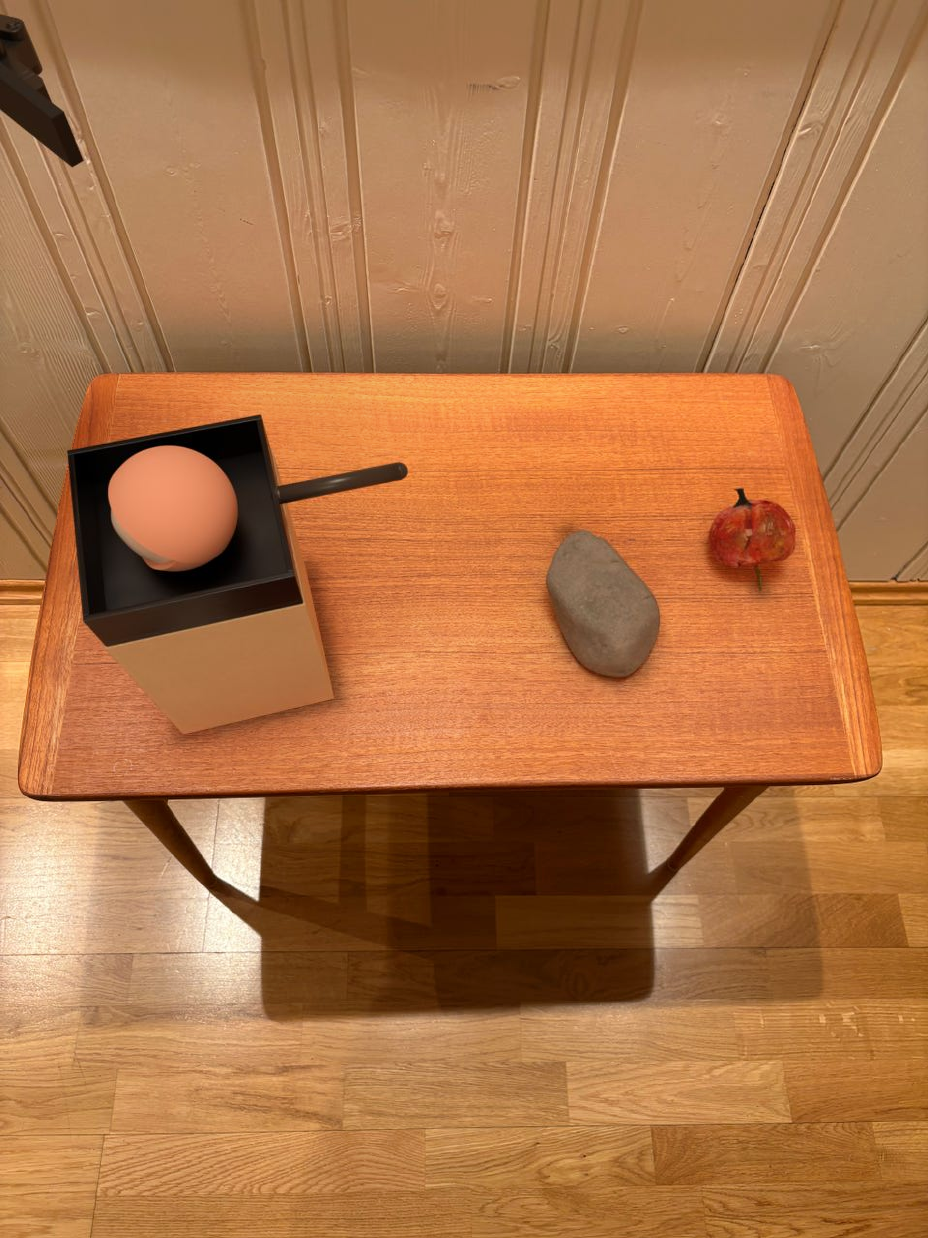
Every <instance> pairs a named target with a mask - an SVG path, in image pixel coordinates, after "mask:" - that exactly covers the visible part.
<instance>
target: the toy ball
mask: <svg viewBox="0 0 928 1238" xmlns="http://www.w3.org/2000/svg"><path fill="white" fill-rule="evenodd" d="M108 496H109V502H110V506H111V520H112V524H113V527H114V529H115V531H116V532H117V534H118V535H119V537H120V538H121V539H122V540H123V541H124V542H125V543H126V545H127V546H128V547H129V548H131V549H132V550H133V551H134V552H135V553H137V554H138V555H140V556H141V557H143V559H144V561H145V562H146V564H147V565H148V566H150V567H151V568H153V569H157V570H163V571H185V570H190V569H194V568H197V567H199V566H202V565H204V564H206V563H208V562H209V561H211V560H212V559H214V558H215V557H217V556H218V555H220V554H221V553H222V552H223V551H224V550H225V549H226V547H227V546H228V544H229V542H230V540H231V538H232V536H233V534H234V531H235V528H236V524H237V518H238V506H237V499H236V495H235V492H234V489H233V487H232V484H231V482H230V481H229V479H228V477H227V476H226V474H225V473H224V472H223V471H222V469H221V468H220V467H219V466H218V465H217V464H216V463H214V462H213V461H212V460H211V459H209V458H208V457H206V456H205V455H203V454H201V453H199V452H197V451H194V450H192V449H188V448H185V447H179V446H158V447H153V448H149V449H146V450H143V451H141V452H139V453H137V454H135V455H133V456H132V457H130V458H129V459H128V460H127V461H125V462H124V463H123V464H122V465H121V466H120V467H119V468H118V470H117V471H116V472H115V473H114V475H113V476H112V478H111V480H110V483H109V489H108Z"/></svg>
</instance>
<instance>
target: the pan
mask: <svg viewBox="0 0 928 1238" xmlns="http://www.w3.org/2000/svg"><path fill="white" fill-rule="evenodd" d="M158 446H179V447H185V448H188V449H192V450H194V451H197V452H199V453H201V454H203V455H205V456H206V457H208V458H209V459H211V460H212V461H213V462H214V463H216V464H217V465H218V466H219V467H220V468H221V469H222V471H223V472H224V473H225V474H226V476H227V477H228V479H229V481H230V482H231V484H232V487H233V489H234V492H235V495H236V499H237V506H238V518H237V524H236V528H235V531H234V534H233V536H232V538H231V540H230V542H229V544H228V546H227V547H226V549H225V550H224V551H223V552H222V553H221V554H220V555H218V556H217V557H215V558H214V559H212V560H211V561H209V562H208V563H206V564H204V565H202V566H199V567H197V568H194V569H190V570H185V571H163V570H157V569H153V568H151V567H150V566H148V565H147V564H146V562H145V561H144V559H143V557H141V556H140V555H138V554H137V553H135V552H134V551H133V550H132V549H131V548H129V547H128V546H127V545H126V543H125V542H124V541H123V540H122V539H121V538H120V537H119V535H118V534H117V532H116V531H115V529H114V527H113V524H112V520H111V506H110V502H109V496H108V489H109V483H110V480H111V478H112V476H113V475H114V473H115V472H116V471H117V470H118V468H119V467H120V466H121V465H122V464H123V463H124V462H125V461H127V460H128V459H129V458H130V457H132V456H133V455H135V454H137V453H139V452H141V451H143V450H146V449H149V448H153V447H158ZM66 453H67V454H66V455H67V465H68V474H69V484H70V495H71V505H72V507H71V508H72V516H73V527H74V537H75V547H76V548H75V549H76V559H77V569H78V579H79V580H78V581H79V591H80V600H81V601H80V602H81V611H82V622H83V623H84V624H85V626H86V627H88V629H89V630H90V631H91V632H92V633H93V634H94V636H96V638H97V639H98V640H99V641H100V642H101V643H102V644H103V645H104V647H105V646H106V647H109V646H113V645H118V644H122V643H127V642H131V641H136V640H141V639H145V638H150V637H154V636H159V635H163V634H168V633H172V632H177V631H181V630H186V629H190V628H195V627H199V626H204V625H208V624H213V623H217V622H222V621H227V620H231V619H236V618H240V617H245V616H249V615H254V614H258V613H263V612H267V611H272V610H276V609H281V608H285V607H290V606H294V605H299V604H303V603H304V602H303V598H302V593H301V588H300V584H299V579H298V574H297V570H296V565H295V560H294V555H293V551H292V546H291V541H290V537H289V532H288V527H287V523H286V518H285V513H284V509H283V504H285V503H288V504H289V503H290V504H291V503H295V502H299V501H300V502H301V501H305V500H310V499H315V498H319V497H324V496H329V495H335V494H338V493H339V494H341V493H344V492H349V491H353V490H360V489H363V488H368V487H374V486H378V485H383V484H388V483H394V482H398V481H403V480H404V479H406V477H408V475H409V473H408V472H409V468H408V466H407V465H406V464H405V463H404V462H401V461H397V462H391V463H387V464H381V465H376V466H371V467H367V468H361V469H356V470H352V471H347V472H341V473H336V474H332V475H331V474H330V475H327V476H326V475H325V476H321V477H316V478H311V479H307V480H306V479H305V480H301V481H297V482H291V483H286V484H282V485H281V486H279V485H278V480H277V476H276V471H275V466H274V462H273V457H272V452H271V445H270V441H269V438H268V433H267V431H266V427H265V424H264V420H263V417H262V414H254V415H249V416H244V417H238V418H233V419H228V420H223V421H217V422H211V423H207V424H206V423H205V424H201V425H196V426H190V427H185V428H180V429H175V430H169V431H164V432H159V433H152V434H147V435H141V436H137V437H132V438H126V439H120V440H116V441H110V442H105V443H100V444H99V443H98V444H94V445H89V446H83V447H77V448H71V449H67V450H66Z"/></svg>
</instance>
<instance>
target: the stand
mask: <svg viewBox="0 0 928 1238" xmlns="http://www.w3.org/2000/svg"><path fill="white" fill-rule="evenodd" d="M270 448H271V447H270ZM271 452H272V457H273V462H274V466H275V471H276V476H277V480H278V485H279V486H281V485H283V481H282V478H281V475H280V471H279V468H278V464H277V460H276V457H275V454H274V450H273V447H272V448H271ZM283 509H284V513H285V518H286V523H287V527H288V532H289V537H290V541H291V546H292V551H293V555H294V560H295V565H296V570H297V574H298V579H299V584H300V588H301V593H302V598H303V602H304V603H303V604H299V605H294V606H290V607H285V608H281V609H276V610H272V611H267V612H263V613H258V614H254V615H249V616H245V617H240V618H236V619H231V620H227V621H222V622H217V623H213V624H208V625H204V626H199V627H195V628H190V629H186V630H181V631H177V632H172V633H168V634H163V635H159V636H154V637H150V638H145V639H141V640H136V641H131V642H127V643H122V644H118V645H113V646H109V647H106V646H105V645H104V649H105V651H106V652H107V653H108V654H109V655H110V656H111V657H112V658H113V659H114V660H115V662H116V663H117V664H118V665H119V666H120V668H122V670H123V671H124V672H125V673H126V674H128V676H129V677H130V678H131V679H132V680H133V681H134V682H135V684H136V685H137V686H138V687H139V688H140V690H142V691H143V692H144V694H145V695H146V697H148V698H149V699H150V700H151V701H152V703H154V705H156V707H157V708H158V709H159V710H160V711H161V712H162V713H163V714H164V715H165V716H166V718H167V719H168V720H169V721H170V722H171V723H172V724H173V726H175V727H176V729H177V730H178V731H179V732H180V733H181V734H182V735H187V734H192V733H197V732H201V731H204V730H209V729H214V728H218V727H221V726H225V725H230V724H234V723H239V722H243V721H246V720H251V719H255V718H260V717H263V716H267V715H272V714H276V713H281V712H284V711H289V710H293V709H297V708H301V707H305V706H309V705H313V704H318V703H322V702H326V701H330V700H334V699H335V695H334V690H333V686H332V681H331V676H330V672H329V667H328V663H327V660H326V659H327V658H326V654H325V649H324V645H323V640H322V636H321V632H320V627H319V623H318V617H317V613H316V609H315V603H314V598H313V594H312V590H311V585H310V581H309V576H308V571H307V567H306V564H305V561H304V557H303V553H302V550H301V546H300V543H299V538H298V536H297V533H296V529H295V528H296V527H295V525H294V522H293V518H292V514H291V511H290V507H289V503H285V504H283Z"/></svg>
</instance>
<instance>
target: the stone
mask: <svg viewBox="0 0 928 1238" xmlns="http://www.w3.org/2000/svg"><path fill="white" fill-rule="evenodd" d="M545 587H546V591H547V594H548V596H549V599H550V603H551V605H552V608H553V611H554V614H555V617H556V619H557V623H558V625H559V628H560V631H561V633H562V636H563V637H564V640H565V641H566V644H567V645H568V647H569V649H570V651H571V653H572V654H573V655H574V657H575V658H576V659H577V661H578V662H579V663H580V664H581V665H582V666H583V667H585V668H586V669H588V670H589V671H592V672H594V673H596V674H599V675H603V676H607V677H613V678H623V677H628V676H630V675H632V674H633V673H634V672H636V671H637V670H638V669H639V668H640V667H641V666H642V664H644V662H645V661H646V660H647V658H648V657H649V655H650V654H651V652H652V650H653V648H654V647H655V644H656V642H657V639H658V636H659V633H660V627H661V610H660V607H659V604H658V601H657V599H656V597H655V594H654V593H653V592H652V590H651V589H650V588H649V586H648V585H647V584H646V583H645V581H644V580H643V579H642V578H641V577H640V576H639V575H638V574H637V573H636V572H635V571H634V569H633V568H631V567H630V565H629V564H628V562H626V560H625V559H624V558H623V557H622V555H620V553H619V552H618V551H617V550H616V549H615V548H614V547H613V546H612V545H611V544H610V542H609V541H608V540H607V539H605V538H604V537H601V536H597V535H595V534H594V533H593V532H591V531H590V530H586V529H581V530H577V531H574V532H573V533H571V534H570V535H568V536H567V537H565V538H564V539H563V541H562V542H560V544H559V545H558V547H557V549H556V550H555V552H554V553H553V555H552V559H551V562H550V565H549V567H548V569H547V572H546V576H545Z"/></svg>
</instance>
